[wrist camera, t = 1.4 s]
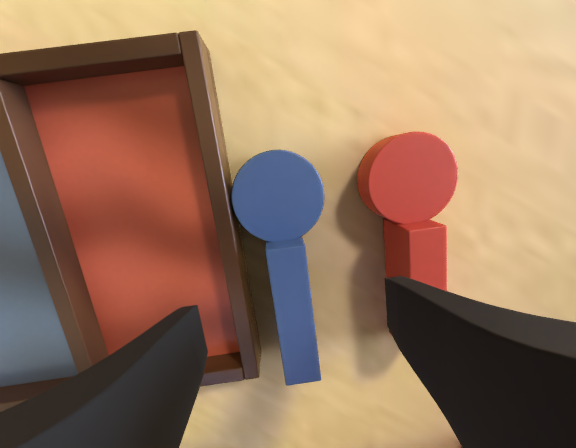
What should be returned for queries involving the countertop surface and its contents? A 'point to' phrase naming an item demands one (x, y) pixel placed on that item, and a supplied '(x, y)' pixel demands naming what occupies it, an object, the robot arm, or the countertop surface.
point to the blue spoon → (284, 247)
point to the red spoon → (411, 202)
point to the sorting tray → (115, 210)
